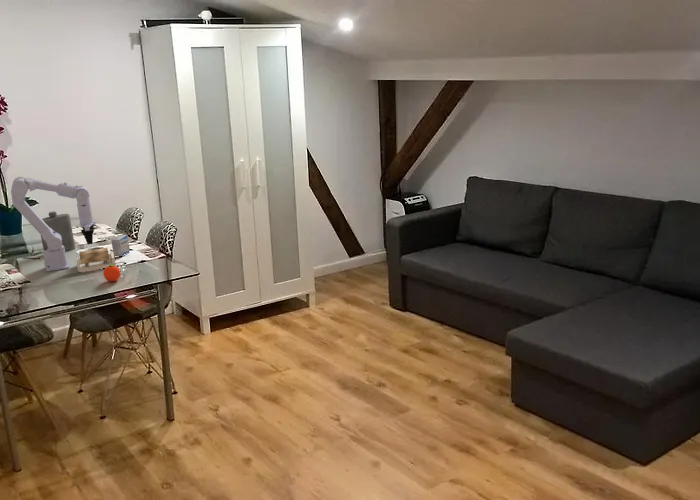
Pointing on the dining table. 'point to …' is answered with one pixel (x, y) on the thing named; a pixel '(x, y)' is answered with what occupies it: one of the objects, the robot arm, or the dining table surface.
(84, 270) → the peg frame
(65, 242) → the flask
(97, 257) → the wooden block
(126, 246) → the medicine box
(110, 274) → the clementine
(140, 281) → the dining table surface
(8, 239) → the dining table surface
